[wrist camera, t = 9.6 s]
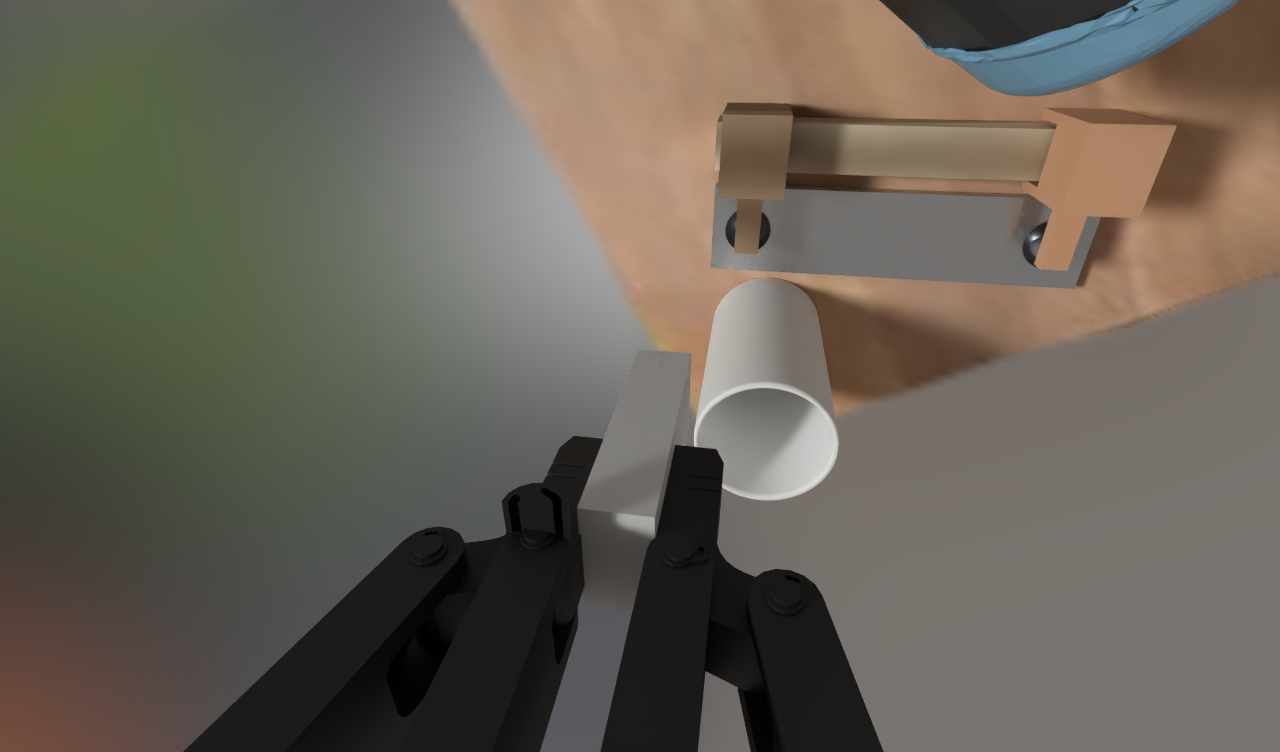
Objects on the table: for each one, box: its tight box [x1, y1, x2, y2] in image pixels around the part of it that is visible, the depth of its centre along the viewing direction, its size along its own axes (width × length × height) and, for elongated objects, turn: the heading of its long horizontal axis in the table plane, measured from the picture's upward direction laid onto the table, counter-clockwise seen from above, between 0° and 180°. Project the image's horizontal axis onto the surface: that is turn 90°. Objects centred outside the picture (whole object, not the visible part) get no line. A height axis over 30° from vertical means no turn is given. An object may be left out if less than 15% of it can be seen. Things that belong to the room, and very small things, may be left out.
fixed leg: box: [718, 103, 793, 254], centre depth 40 cm, size 9×4×6 cm, turn 0°
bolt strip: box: [711, 183, 1101, 289], centre depth 43 cm, size 6×25×1 cm, turn 90°
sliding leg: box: [1021, 108, 1177, 271], centre depth 37 cm, size 9×4×6 cm, turn 0°
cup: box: [694, 278, 839, 500], centre depth 42 cm, size 8×8×16 cm
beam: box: [715, 115, 1057, 181], centre depth 39 cm, size 3×25×3 cm, turn 90°
